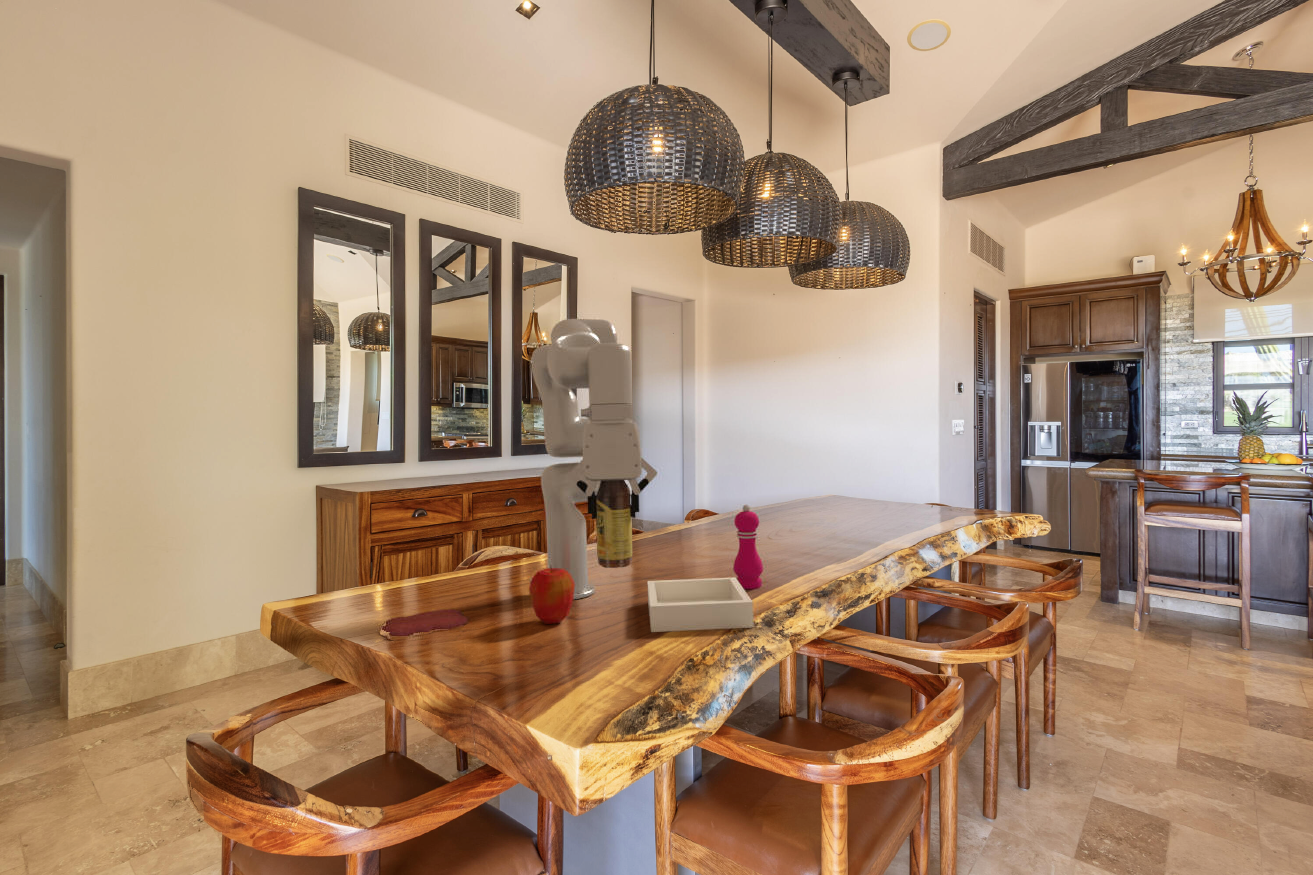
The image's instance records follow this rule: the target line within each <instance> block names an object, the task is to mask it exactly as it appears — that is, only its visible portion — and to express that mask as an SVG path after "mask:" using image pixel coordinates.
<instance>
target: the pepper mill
mask: <svg viewBox="0 0 1313 875" xmlns="http://www.w3.org/2000/svg"><path fill="white" fill-rule="evenodd" d="M742 510H743V511H740V512H738V513H737V514H736V515H735V516H734V517H735V518H734V526H735V528H736V529H737V531H736V537H737V538H738V543H739V544H738V551H737V555H736V557H735V559H734V563H733V573H734V574H735V575H736V579H737V580H738V582H739V583H740V585H741V586H742V587H743V589H744V590H756V589H757V590H758V589H759V588H761V587H762V586H763V585H762V578H761V575H762V573H763V572H764V566H763V562H762V560H761V558H760V555H759V553H758V551H757V543H756V540H757V539H756V538H757V537H758V530H757V528H758V527H759V525H760V519H759V517H758V515H757V513H755V512H753V511H750V510H751V507H750V506H749V505H748V504H744V505H743V506H742Z"/></svg>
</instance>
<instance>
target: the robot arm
mask: <svg viewBox="0 0 1313 875" xmlns="http://www.w3.org/2000/svg"><path fill="white" fill-rule="evenodd" d="M550 341H551V343H550V344H547V345H542V346H538V347H537V348H535V349H534V350H533V352H532V353H531V354H532V355H531V372H532V376H533V380H534V383H535V386H536V388H537V390H538V393H539V395H540V399H541V403H542V411H543V412H542V416H543V431H544V444H545V449H546V450H545V451H546V452H547V454H548V455H549V456H551V457H553V458H562V459H563V458H582V459H581V460H580V462H562V463H561V462H560V463H556V464H552V465H549V466H547V467H545V468H544V469H543V471H542V473H541V475H540V476H541V477H540V484H541V485H540V486H541V492H542V496H543V501H544V509H545V523H546V545H547V546H546V548H547V550H546V551H547V568H551V567H552V568H559V569H564V570H566V571H567V572H568V573H569V574H570V575H571V576H572V579H573V581H574V583H575V587H574V597H573V600H578V599H583V598H587V597H589V596H591V595H593V594H594V593H595V591H596V588H595V585H593V584H591V583H589V575H588V574H589V571H588V547H587V546H588V540H587V522H586V518H585V516H584V514H583V513H582V512H581V511H580V510H579V509H578V508H577V507H576V505H575V504H576V503H581V502H587V514H589V515H591V519H592V520H596V495H597V492H598V489H599V486H600V483H601V481H612V480H624V481H628V483H629V485H630V487H631V489H632V490H631V493H630V494H631V497H630V500H631V501H630V502H631V517H632V518H634V519H635V518H636V513H640V494H641V493H642V491H643V490H644V489H645V488H646V487H647V486H649V484H650V483H651V482H652V481H653V479H654V478H655V477H657V474H658V472H657V470H656V469H655V468H654V467H653V466H651V464H649V463H648V462H647V461H646V460H645V459H644V458H643V457H642V449H641V448H642V447H641V440H640V433H639V432H640V431H639V426H638V422H633V420H634V419H633V392H632V391H633V389H632V388H633V387H632V383H633V382H632V357H631V356H632V355H631V350H630V347H629V346H627V345H626V344H623V343H618V335H617V331H616V328H615V326H614V325H613V324H612V322H610V321H608V320H605V319H592V318H591V319H589V318H588V319H587V318H567V319H562V320H560V321H559V322H557V323H556V324H555V325H554V326H553V327H552V330H551V333H550ZM572 389H573V390H574V389H588V404H589V405H588V407H586V408H583V409H580V415H581V416H579V405H578V403H579V402H578V399H577V396H576V395H575V393H574V392H573V390H572ZM643 470H644V471H645V472H646V475H645V476H644V477H643V478H642V479H641V480H640V481H639V482H638V481H637V479H638V478H640V477H641V475H642V471H643ZM550 565H551V567H550ZM532 578H533V577H531V578H529V583H530V584H531V580H532Z"/></svg>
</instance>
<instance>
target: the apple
mask: <svg viewBox="0 0 1313 875" xmlns="http://www.w3.org/2000/svg"><path fill="white" fill-rule="evenodd" d="M550 567H551V565H550ZM531 578H532V580H531V584H530V585H529V587H528V590H529V596H530V601H531V605H532V608H533V610H534V613H535V616H536V618H538V619H539V620H540V621H541V622H543V623H544V624H547V625H548V624H549V625H551V624H552V625H553V624H557V623H561V622H562V621H564V620H565V618H567V617H568V616H569V615H570V611H571V609H572V605H573V602H574V599H573V597H574V587H575V583H574V581H573V579H572V576H571V575H570V574H569V573H568V572H567V571H566V570H564V569H559V568H552V567H551V568H548V567H546V568H543V569H540V570H537V572H536V573H535V574H534V575H533V577H531Z"/></svg>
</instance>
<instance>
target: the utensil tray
mask: <svg viewBox="0 0 1313 875" xmlns="http://www.w3.org/2000/svg"><path fill="white" fill-rule="evenodd" d="M736 578H737V576H736V577H735V576H733V577H711V578H690V579H688V578H687V579H686V578H685V579H669V580H668V579H667V580H666V579H664V580H661V579H660V580H647V602H648V615H649V624H650V632H651V633H657V632H659V633H660V632H662V633H663V632H679V631H681V632H682V631H683V632H684V631H706V630H708V631H709V630H725V629H726V630H729V629H747V628H754V604H753V603H754V602H753V600H752V599H751V597H750V595H748V593H747V592H746V589H743V587H742V586H741V585H740V583H739V582H738V580H737V579H736Z"/></svg>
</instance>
